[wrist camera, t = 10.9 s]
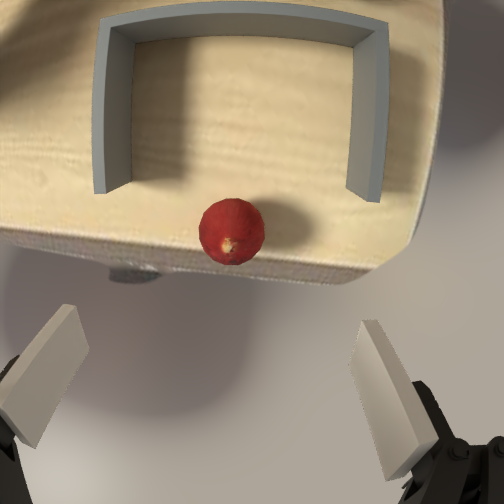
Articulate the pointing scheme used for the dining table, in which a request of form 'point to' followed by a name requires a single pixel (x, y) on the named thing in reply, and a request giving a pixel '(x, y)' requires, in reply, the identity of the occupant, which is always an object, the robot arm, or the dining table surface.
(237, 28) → the open u-shaped frame
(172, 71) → the dining table surface
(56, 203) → the dining table surface
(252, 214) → the onion
